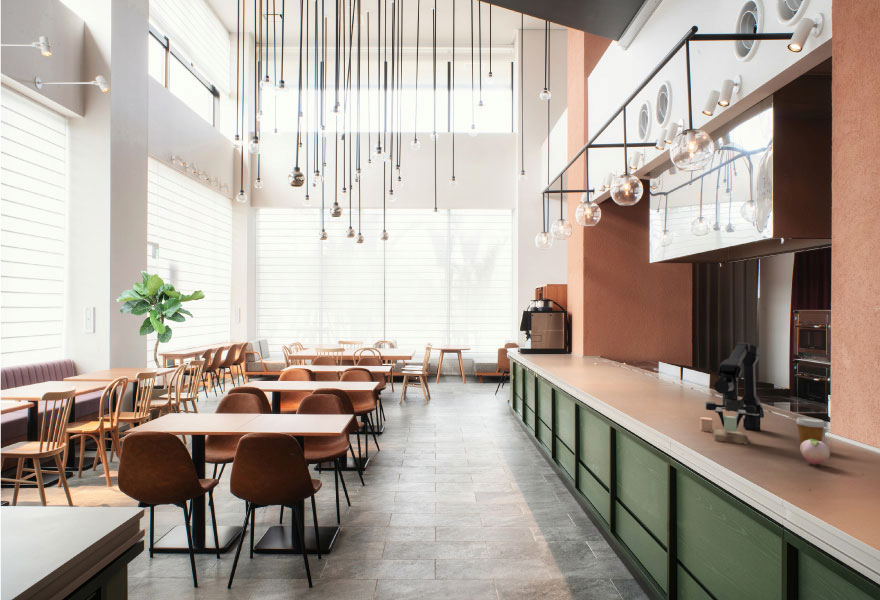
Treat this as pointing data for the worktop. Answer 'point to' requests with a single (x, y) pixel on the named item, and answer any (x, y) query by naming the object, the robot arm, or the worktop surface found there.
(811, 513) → the worktop surface
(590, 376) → the worktop surface
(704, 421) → the terracotta block
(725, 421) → the green block
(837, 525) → the worktop surface
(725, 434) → the walnut base
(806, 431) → the disposable coffee cup
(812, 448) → the decorative fruit
